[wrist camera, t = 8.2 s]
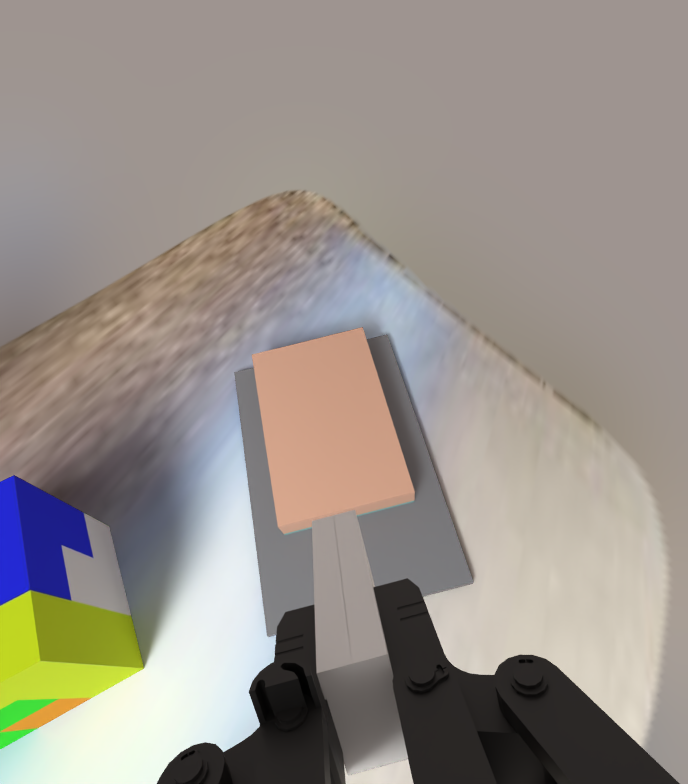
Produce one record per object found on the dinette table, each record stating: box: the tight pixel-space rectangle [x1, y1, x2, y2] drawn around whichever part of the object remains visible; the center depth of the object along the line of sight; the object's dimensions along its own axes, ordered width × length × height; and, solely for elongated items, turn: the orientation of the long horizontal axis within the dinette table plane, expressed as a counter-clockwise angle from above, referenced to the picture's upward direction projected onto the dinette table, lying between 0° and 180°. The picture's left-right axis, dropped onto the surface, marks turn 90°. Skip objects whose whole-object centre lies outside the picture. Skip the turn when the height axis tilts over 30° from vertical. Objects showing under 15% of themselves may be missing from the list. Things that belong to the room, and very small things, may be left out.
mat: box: [234, 335, 473, 637], centre depth 35 cm, size 20×13×1 cm, turn 13°
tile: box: [252, 327, 415, 535], centre depth 36 cm, size 2×9×14 cm
